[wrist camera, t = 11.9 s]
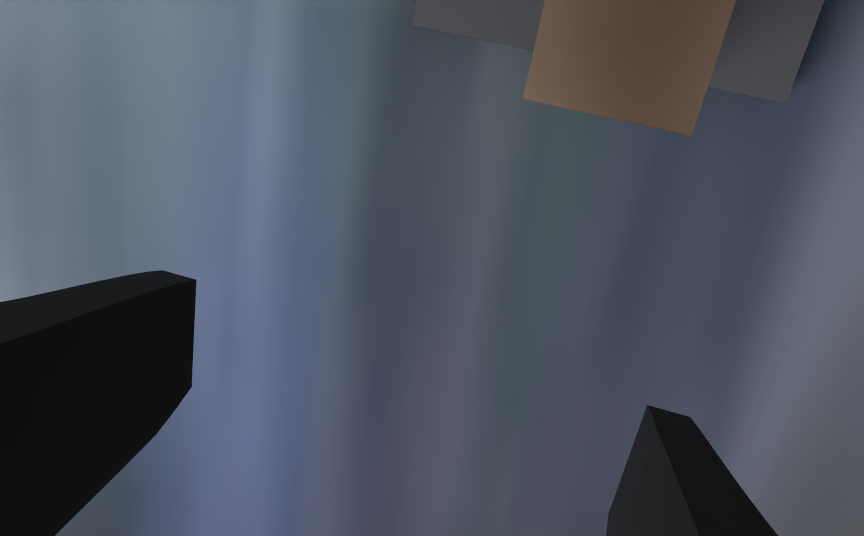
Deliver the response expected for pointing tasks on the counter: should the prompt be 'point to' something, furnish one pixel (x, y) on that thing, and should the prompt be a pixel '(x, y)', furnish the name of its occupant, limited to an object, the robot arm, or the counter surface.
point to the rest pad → (736, 63)
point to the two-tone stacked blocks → (628, 58)
